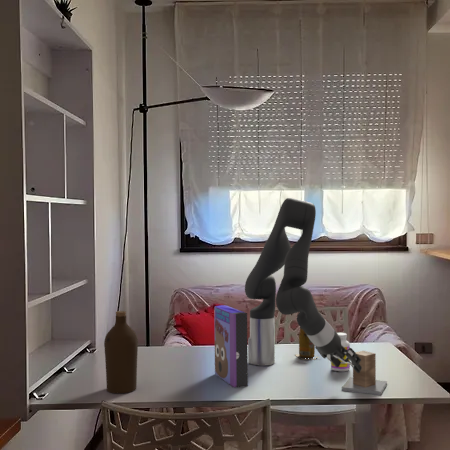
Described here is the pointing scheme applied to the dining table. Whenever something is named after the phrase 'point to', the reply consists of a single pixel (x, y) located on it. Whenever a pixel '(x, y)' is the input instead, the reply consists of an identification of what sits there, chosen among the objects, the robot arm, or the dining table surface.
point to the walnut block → (366, 370)
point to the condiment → (305, 347)
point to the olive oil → (121, 356)
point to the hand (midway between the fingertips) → (349, 367)
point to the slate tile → (371, 389)
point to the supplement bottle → (343, 365)
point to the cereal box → (231, 345)
